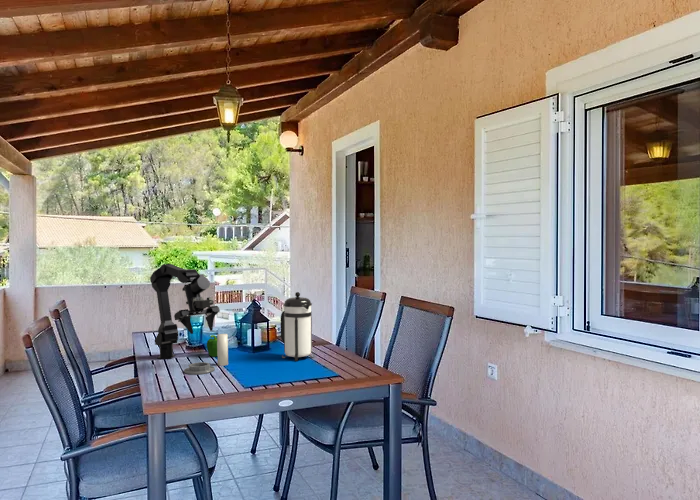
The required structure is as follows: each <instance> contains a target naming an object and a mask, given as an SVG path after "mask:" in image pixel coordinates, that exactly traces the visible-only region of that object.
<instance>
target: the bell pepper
mask: <svg viewBox="0 0 700 500" xmlns="http://www.w3.org/2000/svg"><path fill="white" fill-rule="evenodd" d="M206 349H207V353H208V356H209V357H214V358H215V357H218V356H217V335H215V334H211V335H210V338H209V339H208V340H207V342H206Z"/></svg>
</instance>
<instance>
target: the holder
mask: <svg viewBox="0 0 700 500" xmlns="http://www.w3.org/2000/svg"><path fill="white" fill-rule="evenodd" d="M215 370H216V369H215V366H213V365H211V364H210V363H209V362H202V361H201V362H194V363H190V364H189V365H188V367H186V368H185V369H184V373H185V374H187V375H192V376H193V375H194V376H195V375H197V376H198V375H206V374H211V373H212V372H214V371H215Z"/></svg>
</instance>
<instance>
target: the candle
mask: <svg viewBox="0 0 700 500" xmlns="http://www.w3.org/2000/svg"><path fill="white" fill-rule="evenodd" d="M228 337H229V336H228V333H218V334H216V338H217V356H216V357H217V366H219V367H220V366H221V367H223V366H228V365H229V340H228V339H229V338H228Z"/></svg>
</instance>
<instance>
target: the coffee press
mask: <svg viewBox="0 0 700 500" xmlns="http://www.w3.org/2000/svg"><path fill="white" fill-rule="evenodd" d="M294 296H295V297H290V298H287V299H286V300H285V301H284V303H283V307H284V310H283V311H282V312H281V315H280V338H281V339H280V340H281V342H282V343H283V345H284V346H283V347H284V351H283V353H284V354H285V356H284V354H282V355H281V358H282V359H285V358H286V357H291V358H294V362H299V358H302V357H308V356H309V357H310V358H312V359H314V358H315V356H316V355H315V353H314V352H313V333H312V331H313V329H312V327H313V324H312V323H313V321H312V305H313V303H312V302H311V299H309V298H307V297H303V296H302V297H301V293H300V292H298V291H297V292H295V293H294ZM311 354H312V355H313V356H312V355H311Z"/></svg>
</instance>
